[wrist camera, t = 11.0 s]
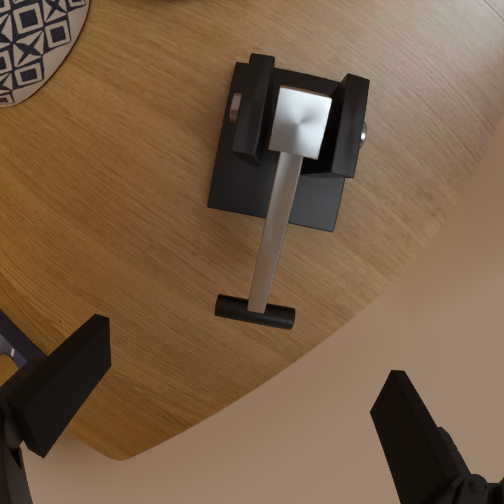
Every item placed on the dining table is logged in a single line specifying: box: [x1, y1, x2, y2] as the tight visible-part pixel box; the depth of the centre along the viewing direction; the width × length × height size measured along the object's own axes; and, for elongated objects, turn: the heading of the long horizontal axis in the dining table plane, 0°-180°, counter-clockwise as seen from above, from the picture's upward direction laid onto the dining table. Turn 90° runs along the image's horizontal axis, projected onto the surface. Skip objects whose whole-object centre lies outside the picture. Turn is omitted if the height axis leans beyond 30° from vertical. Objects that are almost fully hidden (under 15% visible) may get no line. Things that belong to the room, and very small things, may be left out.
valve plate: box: [0, 310, 47, 369], centre depth 29 cm, size 12×9×3 cm
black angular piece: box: [207, 53, 370, 232], centre depth 17 cm, size 12×10×13 cm
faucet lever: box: [214, 85, 332, 330], centre depth 16 cm, size 14×5×2 cm, turn 169°
